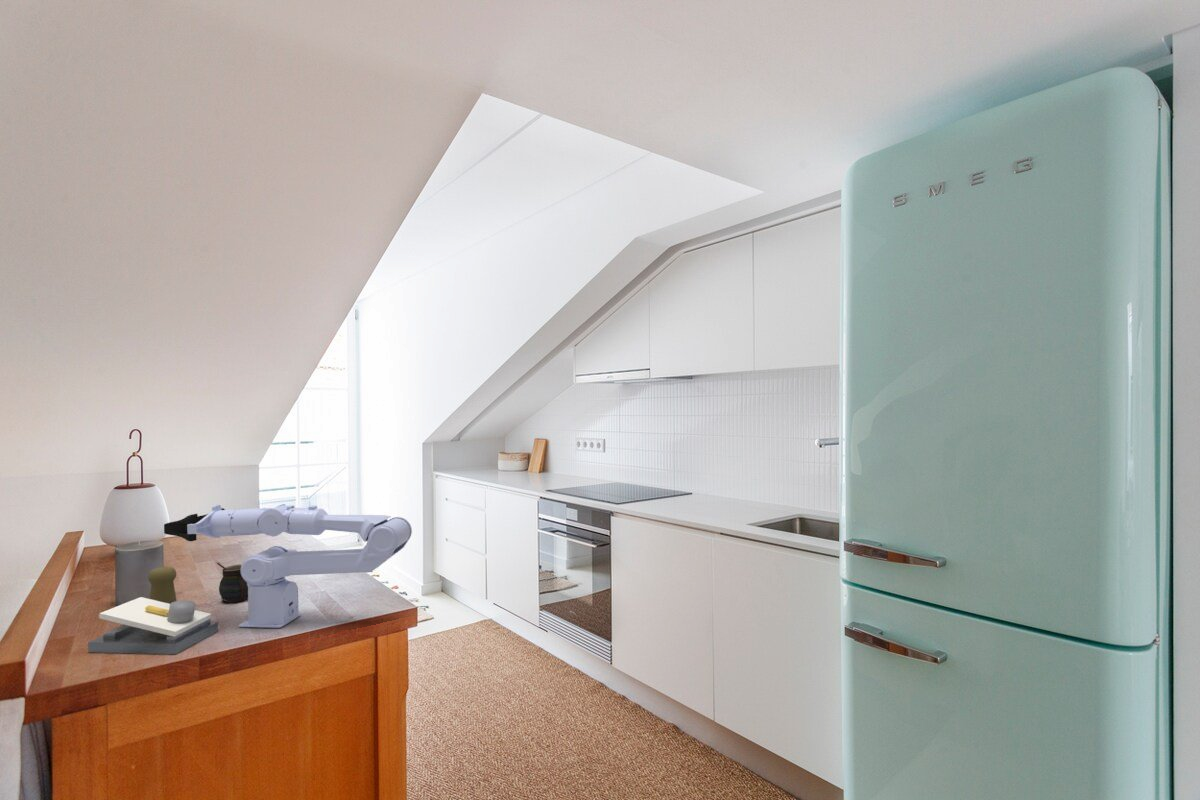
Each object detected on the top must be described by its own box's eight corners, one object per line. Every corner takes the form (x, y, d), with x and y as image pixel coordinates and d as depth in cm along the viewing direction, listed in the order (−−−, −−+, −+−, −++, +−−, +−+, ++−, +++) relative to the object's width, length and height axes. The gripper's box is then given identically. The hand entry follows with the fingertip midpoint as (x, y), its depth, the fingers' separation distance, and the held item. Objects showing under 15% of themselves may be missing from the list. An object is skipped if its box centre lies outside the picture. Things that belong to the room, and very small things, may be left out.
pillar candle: (118, 599, 155) (116, 538, 155) (166, 592, 160) (164, 533, 160) (112, 610, 147) (111, 546, 146) (163, 603, 152) (162, 541, 152)
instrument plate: (210, 618, 132) (213, 599, 132) (174, 636, 122) (178, 616, 122) (140, 601, 133) (143, 583, 133) (98, 618, 123) (102, 598, 123)
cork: (173, 610, 146) (173, 562, 146) (182, 615, 143) (182, 567, 143) (142, 617, 142) (142, 568, 142) (151, 623, 138) (150, 573, 138)
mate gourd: (259, 598, 155) (258, 557, 154) (226, 607, 148) (225, 565, 148) (244, 593, 159) (243, 553, 159) (212, 601, 152) (211, 560, 152)
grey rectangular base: (218, 631, 133) (218, 616, 133) (175, 654, 121) (175, 638, 121) (138, 629, 134) (138, 615, 134) (88, 652, 122) (88, 636, 122)
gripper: (256, 500, 146) (199, 503, 146) (215, 508, 131) (152, 512, 132) (257, 530, 145) (200, 534, 146) (217, 542, 131) (153, 546, 131)
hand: (177, 525), depth 139 cm, fingers open, 7 cm apart
